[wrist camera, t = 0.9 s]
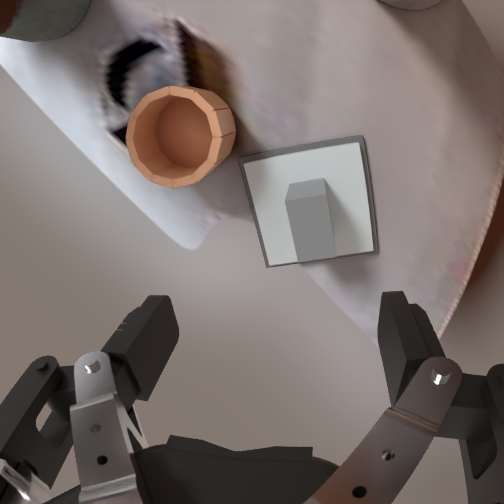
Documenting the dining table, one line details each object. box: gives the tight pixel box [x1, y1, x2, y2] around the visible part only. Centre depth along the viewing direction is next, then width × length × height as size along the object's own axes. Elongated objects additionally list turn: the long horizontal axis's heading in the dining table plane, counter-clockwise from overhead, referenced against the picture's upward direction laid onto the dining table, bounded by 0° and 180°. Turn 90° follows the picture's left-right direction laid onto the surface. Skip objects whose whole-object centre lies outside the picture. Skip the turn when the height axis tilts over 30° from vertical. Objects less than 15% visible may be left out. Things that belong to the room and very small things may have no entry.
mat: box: [238, 135, 378, 268], centre depth 29 cm, size 11×11×1 cm
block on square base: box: [243, 142, 373, 265], centre depth 26 cm, size 10×10×6 cm
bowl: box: [126, 86, 236, 188], centre depth 25 cm, size 8×8×5 cm
